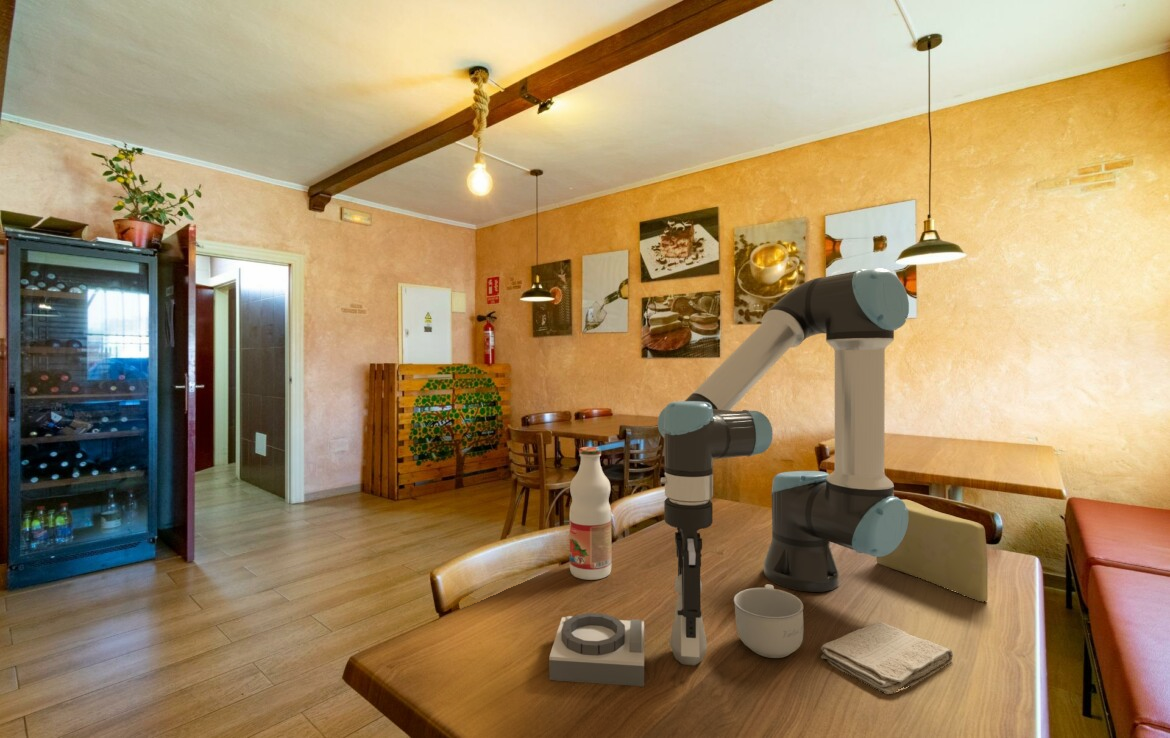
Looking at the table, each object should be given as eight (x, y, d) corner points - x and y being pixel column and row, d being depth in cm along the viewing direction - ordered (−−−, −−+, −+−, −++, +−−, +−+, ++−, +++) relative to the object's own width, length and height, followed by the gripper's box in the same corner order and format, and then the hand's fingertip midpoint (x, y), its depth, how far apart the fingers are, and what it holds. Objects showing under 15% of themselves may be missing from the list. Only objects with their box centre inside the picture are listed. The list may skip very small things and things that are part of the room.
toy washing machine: (644, 642, 87) (644, 612, 87) (644, 686, 75) (644, 652, 75) (562, 637, 89) (562, 608, 88) (549, 680, 77) (549, 646, 77)
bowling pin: (707, 671, 79) (707, 586, 79) (669, 666, 80) (669, 583, 80) (706, 650, 84) (706, 571, 84) (670, 646, 86) (670, 568, 85)
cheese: (1004, 600, 102) (1004, 524, 102) (966, 606, 99) (967, 529, 99) (907, 559, 123) (907, 496, 123) (874, 563, 121) (874, 499, 121)
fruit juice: (612, 581, 111) (612, 451, 111) (568, 581, 111) (568, 451, 111) (610, 564, 121) (610, 444, 120) (570, 564, 121) (570, 444, 121)
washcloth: (816, 661, 82) (816, 642, 82) (878, 630, 91) (878, 613, 91) (893, 703, 72) (893, 681, 72) (954, 664, 81) (954, 644, 81)
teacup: (796, 675, 78) (796, 622, 78) (725, 653, 83) (725, 604, 83) (811, 633, 90) (811, 587, 89) (748, 617, 95) (748, 574, 95)
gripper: (662, 484, 92) (662, 613, 92) (666, 515, 73) (667, 677, 73) (705, 485, 91) (705, 616, 91) (721, 517, 72) (721, 681, 72)
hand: (688, 643), depth 82 cm, fingers closed on bowling pin, 6 cm apart
